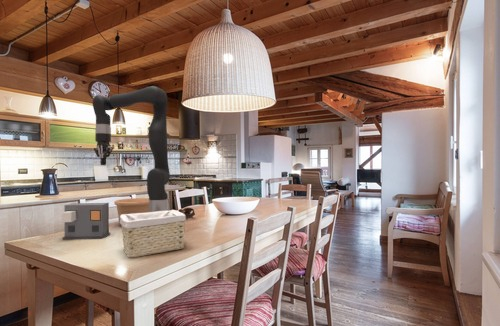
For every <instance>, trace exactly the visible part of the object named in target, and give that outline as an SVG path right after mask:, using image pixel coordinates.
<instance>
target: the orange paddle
mask: <svg viewBox="0 0 500 326" xmlns="http://www.w3.org/2000/svg"><path fill="white" fill-rule="evenodd" d="M91 220H101V210H92V211H91Z"/></svg>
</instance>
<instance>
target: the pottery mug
mask: <svg viewBox="0 0 500 326" xmlns="http://www.w3.org/2000/svg"><path fill="white" fill-rule="evenodd" d="M177 211H179V212H181V213H183V214H185V218H186V219H187V220H188V219H191V217H192V218H193V217H194V216H196V213H195V209H194V208H192V207H184V208H183V209H178V210H177Z"/></svg>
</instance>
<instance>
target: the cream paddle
mask: <svg viewBox="0 0 500 326" xmlns="http://www.w3.org/2000/svg"><path fill="white" fill-rule="evenodd" d="M75 220H77V211H66V212H65V211H63V212H61V222H62V223H65V222H73V221H75Z"/></svg>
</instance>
